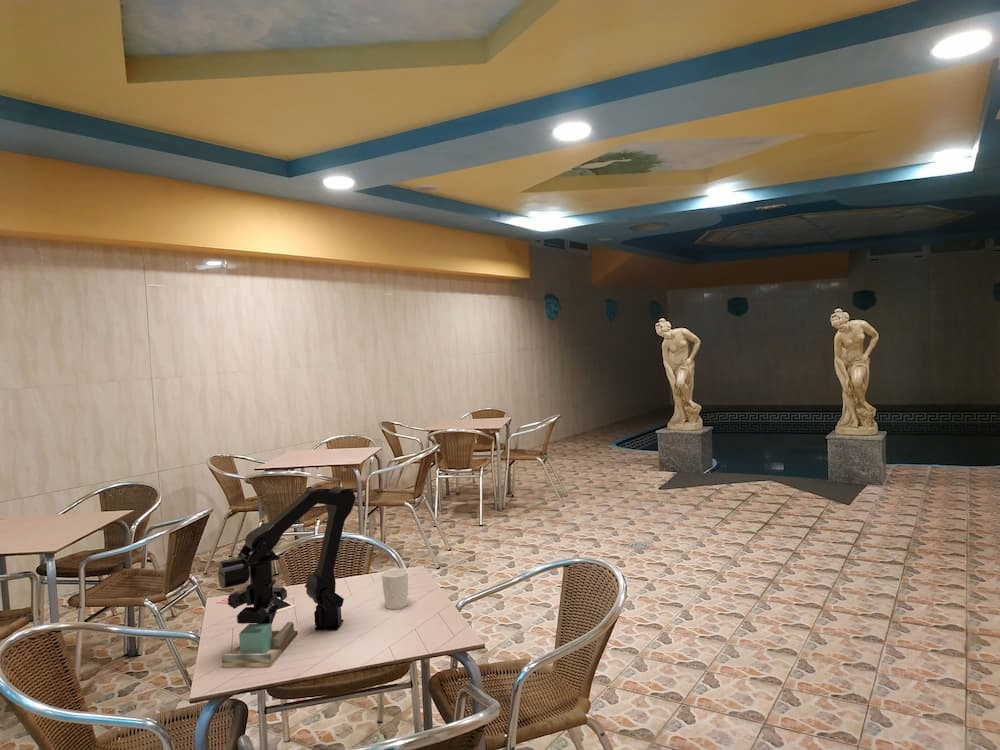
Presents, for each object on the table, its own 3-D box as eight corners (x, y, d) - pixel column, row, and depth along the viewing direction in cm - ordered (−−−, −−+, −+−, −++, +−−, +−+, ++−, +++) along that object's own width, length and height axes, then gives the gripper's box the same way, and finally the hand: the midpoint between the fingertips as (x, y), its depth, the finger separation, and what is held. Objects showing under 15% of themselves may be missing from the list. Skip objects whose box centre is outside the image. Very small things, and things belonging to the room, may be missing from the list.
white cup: (415, 602, 212) (413, 570, 212) (397, 611, 205) (396, 578, 205) (395, 598, 216) (393, 567, 216) (377, 607, 210) (376, 574, 209)
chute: (297, 634, 192) (297, 622, 192) (270, 666, 173) (269, 653, 173) (254, 634, 193) (253, 622, 193) (222, 667, 174) (221, 653, 174)
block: (272, 645, 183) (271, 623, 183) (263, 656, 177) (262, 633, 177) (250, 646, 183) (249, 623, 183) (240, 656, 177) (239, 633, 177)
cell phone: (271, 595, 225) (271, 593, 225) (295, 607, 213) (295, 605, 213) (248, 602, 220) (248, 600, 220) (271, 615, 208) (271, 613, 208)
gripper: (247, 567, 195) (250, 622, 196) (215, 591, 176) (219, 652, 177) (286, 567, 194) (289, 621, 195) (257, 591, 175) (261, 651, 176)
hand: (265, 636), depth 186 cm, fingers closed
